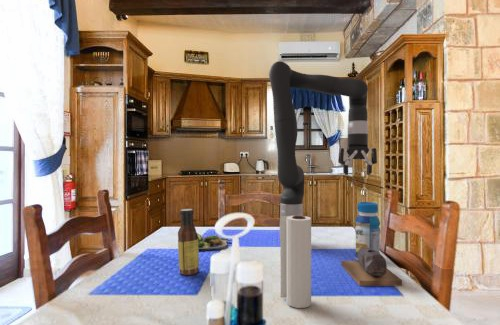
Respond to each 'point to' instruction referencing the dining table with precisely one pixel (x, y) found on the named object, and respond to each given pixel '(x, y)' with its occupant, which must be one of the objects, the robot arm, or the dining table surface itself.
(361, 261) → the perforated stone tool
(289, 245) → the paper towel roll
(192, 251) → the sauce bottle
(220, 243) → the salad plate
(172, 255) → the dining table surface
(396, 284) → the walnut board
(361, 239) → the beverage bottle
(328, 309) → the dining table surface
